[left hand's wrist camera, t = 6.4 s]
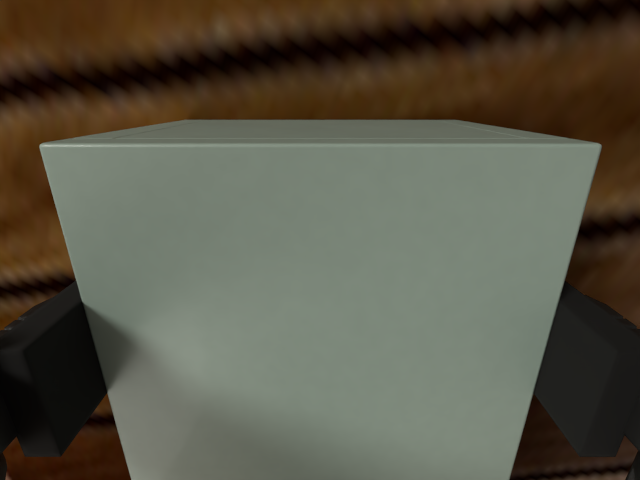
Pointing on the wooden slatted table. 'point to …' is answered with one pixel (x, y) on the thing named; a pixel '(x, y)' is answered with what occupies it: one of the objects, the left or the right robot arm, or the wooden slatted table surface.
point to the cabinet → (320, 290)
